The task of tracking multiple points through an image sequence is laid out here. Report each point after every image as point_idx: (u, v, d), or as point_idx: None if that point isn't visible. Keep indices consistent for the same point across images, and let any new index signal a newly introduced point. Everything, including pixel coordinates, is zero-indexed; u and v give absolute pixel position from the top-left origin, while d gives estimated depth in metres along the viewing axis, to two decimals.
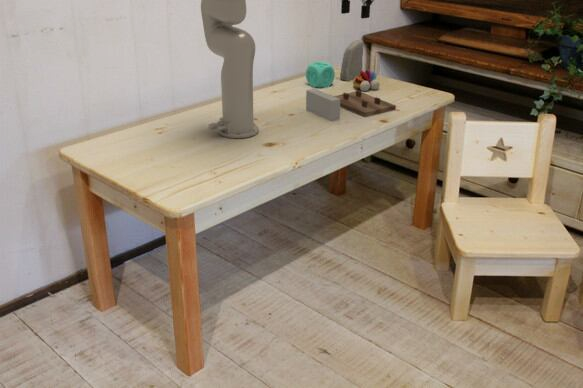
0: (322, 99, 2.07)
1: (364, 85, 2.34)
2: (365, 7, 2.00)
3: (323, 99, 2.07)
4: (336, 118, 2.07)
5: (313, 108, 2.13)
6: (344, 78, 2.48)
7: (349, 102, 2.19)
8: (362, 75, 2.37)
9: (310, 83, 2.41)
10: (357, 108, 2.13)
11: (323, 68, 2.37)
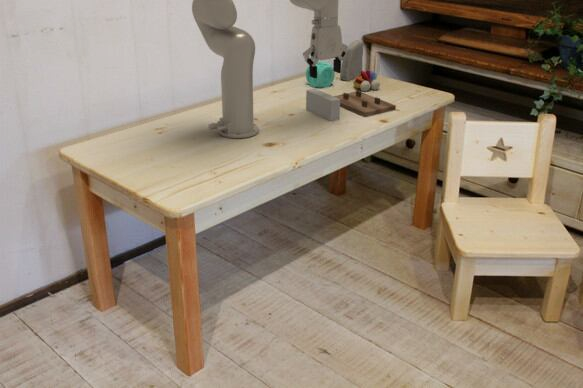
0: (322, 99, 2.07)
1: (364, 85, 2.34)
2: None
3: (323, 99, 2.07)
4: (336, 118, 2.07)
5: (313, 108, 2.13)
6: (344, 78, 2.48)
7: (349, 102, 2.19)
8: (362, 75, 2.37)
9: (310, 83, 2.41)
10: (357, 108, 2.13)
11: (323, 68, 2.37)
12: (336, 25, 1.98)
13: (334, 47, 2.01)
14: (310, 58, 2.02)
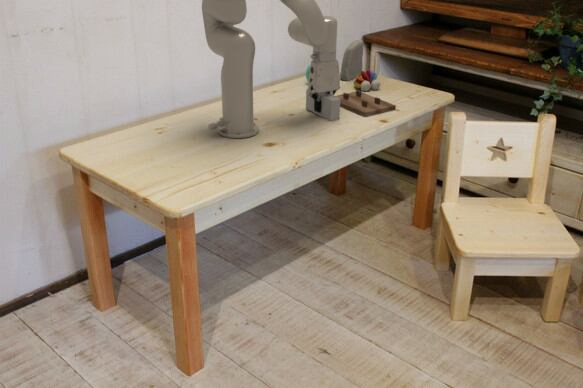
0: (323, 99, 2.07)
1: (365, 85, 2.34)
2: None
3: (323, 98, 2.07)
4: (336, 117, 2.08)
5: (313, 107, 2.13)
6: (344, 78, 2.48)
7: (349, 102, 2.19)
8: (363, 75, 2.37)
9: None
10: (357, 108, 2.13)
11: None
12: (334, 60, 2.03)
13: (332, 81, 2.06)
14: None
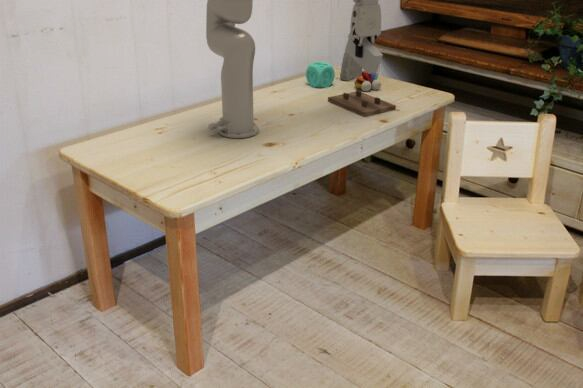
0: (365, 50, 2.09)
1: (365, 85, 2.34)
2: None
3: (366, 50, 2.09)
4: (374, 71, 2.12)
5: (352, 53, 2.15)
6: (344, 78, 2.48)
7: (349, 102, 2.19)
8: (363, 75, 2.37)
9: (310, 83, 2.41)
10: (357, 108, 2.13)
11: (323, 68, 2.36)
12: (377, 3, 2.04)
13: (374, 25, 2.07)
14: None
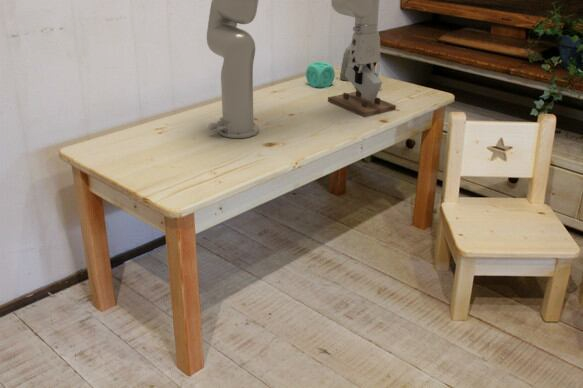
0: (365, 77, 2.13)
1: None
2: None
3: (366, 77, 2.13)
4: (373, 97, 2.16)
5: (352, 79, 2.19)
6: (344, 78, 2.48)
7: (349, 102, 2.19)
8: None
9: (310, 83, 2.41)
10: (357, 108, 2.13)
11: (323, 68, 2.36)
12: (376, 32, 2.08)
13: (373, 53, 2.12)
14: None
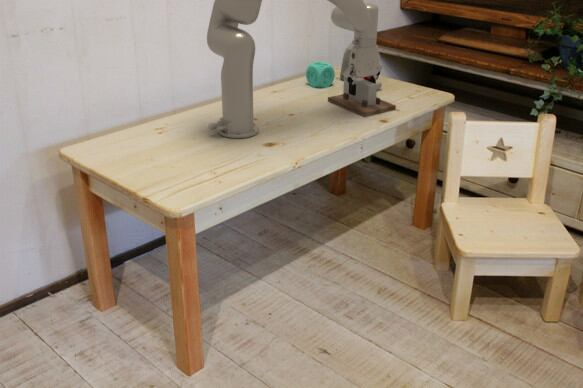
0: (360, 85, 2.17)
1: None
2: None
3: (360, 84, 2.17)
4: (373, 102, 2.17)
5: (350, 94, 2.23)
6: None
7: (349, 102, 2.19)
8: None
9: (310, 83, 2.41)
10: (357, 108, 2.13)
11: (323, 68, 2.36)
12: (375, 45, 2.10)
13: (372, 66, 2.14)
14: (349, 76, 2.15)
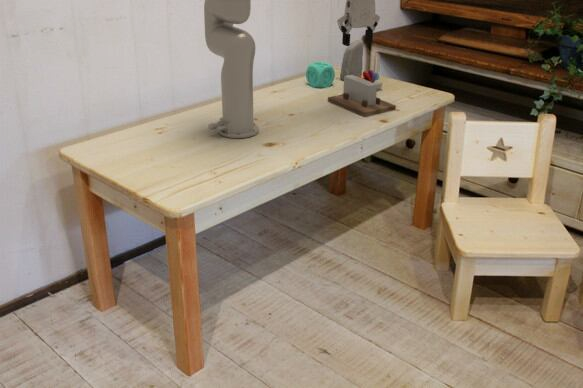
0: (360, 85, 2.17)
1: None
2: None
3: (360, 84, 2.17)
4: (373, 102, 2.17)
5: (350, 94, 2.23)
6: None
7: (349, 102, 2.19)
8: (365, 75, 2.37)
9: (310, 83, 2.41)
10: (357, 108, 2.13)
11: (323, 68, 2.36)
12: None
13: (367, 16, 2.07)
14: (344, 26, 2.08)
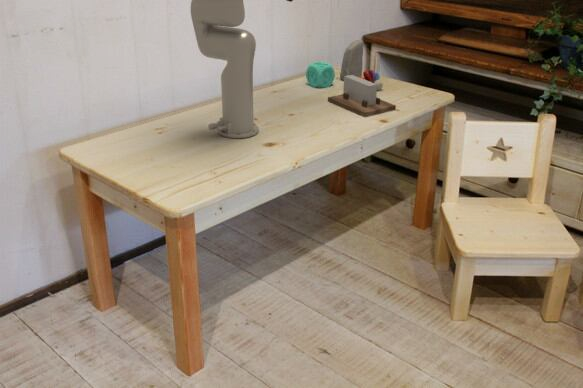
0: (360, 85, 2.17)
1: None
2: None
3: (360, 84, 2.17)
4: (373, 102, 2.17)
5: (350, 94, 2.23)
6: None
7: (349, 102, 2.19)
8: (365, 75, 2.37)
9: (310, 83, 2.41)
10: (357, 108, 2.13)
11: (323, 68, 2.36)
12: None
13: None
14: None
